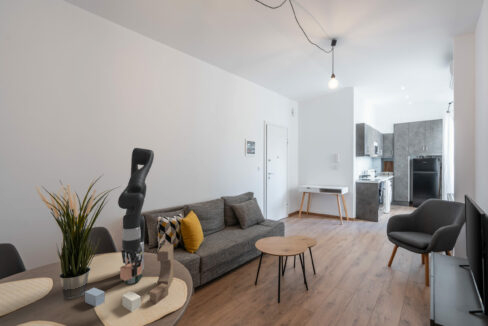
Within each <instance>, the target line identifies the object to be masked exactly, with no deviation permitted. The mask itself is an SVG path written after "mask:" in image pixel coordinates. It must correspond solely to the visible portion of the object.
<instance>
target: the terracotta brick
mask: <svg viewBox="0 0 488 326" xmlns="http://www.w3.org/2000/svg"><path fill="white" fill-rule="evenodd" d="M119 269H120V273H119V274H120V276H119V277H120V279H121V280H123V281H124V282H125V281H126V280H128V279H131V278H133V277H132V267H131V264H127V265H125V264H124V265H122V266H120V268H119ZM140 274H142V275H143V271H142V262H141V266H140V267H138V268H137V275H140ZM134 277H135V276H134Z"/></svg>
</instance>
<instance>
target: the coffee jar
mask: <svg viewBox="0 0 488 326" xmlns="http://www.w3.org/2000/svg"><path fill="white" fill-rule="evenodd" d="M138 252H139V253H138V254H139V255H142V247H141V246H140V247H139V248H138ZM132 261H134V260H132ZM141 262H142V261H141ZM142 278H143V273H142V274H140V275H137V276H135V277H133V278H131V279H128V280H126V281H125V280H124V283H125V284H127V285H133V284H137V283H139V281H141V279H142Z"/></svg>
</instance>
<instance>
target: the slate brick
mask: <svg viewBox="0 0 488 326" xmlns="http://www.w3.org/2000/svg"><path fill="white" fill-rule="evenodd" d="M105 292H106V291H105V290H102V289H99V288H96V287H92V288H90V289H88V290H86V291H84V303H86V304H88V305H91V306H93V307H95V306H97V307H98V306H101V304H103V303H105V299H106V297H105V295H106V294H105Z"/></svg>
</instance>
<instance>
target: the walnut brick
mask: <svg viewBox="0 0 488 326" xmlns="http://www.w3.org/2000/svg"><path fill="white" fill-rule="evenodd" d="M167 296H169V289H168V285H166V284H163V283H162V284H160V285H159V286H157V285H156V287H154V288H153V289H151V290H150V291H149V303H152V304H154V303H155V304H154V305H157V304H158V303H159V302H161V301H162V300H164V299H165V298H166V297H167Z"/></svg>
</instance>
